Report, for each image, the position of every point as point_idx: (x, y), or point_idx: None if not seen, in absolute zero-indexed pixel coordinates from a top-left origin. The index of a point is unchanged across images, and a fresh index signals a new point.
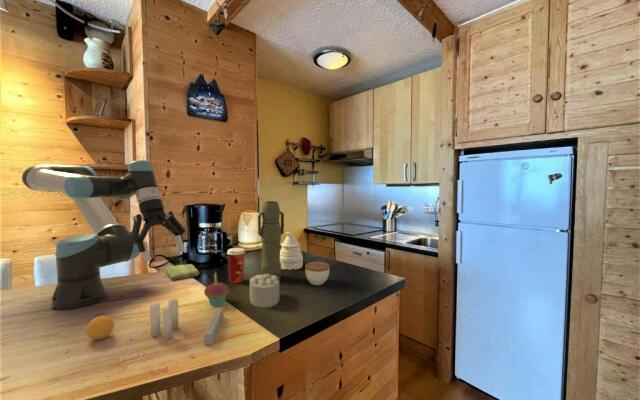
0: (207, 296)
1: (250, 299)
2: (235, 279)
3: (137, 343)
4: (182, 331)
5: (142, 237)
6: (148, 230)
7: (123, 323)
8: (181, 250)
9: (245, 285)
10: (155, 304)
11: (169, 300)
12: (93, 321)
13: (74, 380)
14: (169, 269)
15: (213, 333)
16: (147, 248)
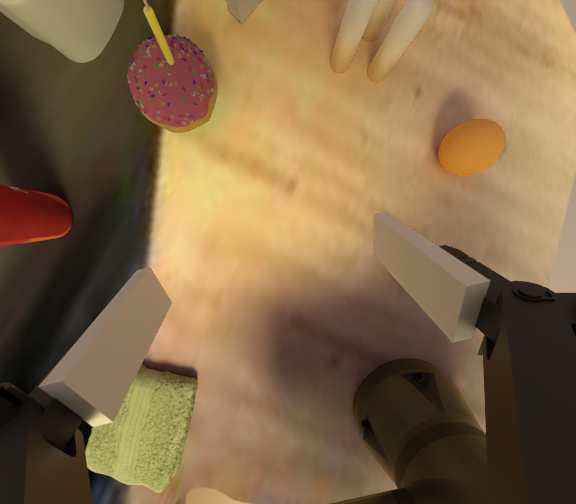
0: (216, 83)
1: (111, 21)
2: (51, 197)
3: (418, 63)
4: (335, 28)
5: (544, 322)
6: (524, 450)
7: (395, 190)
8: (153, 286)
9: (51, 154)
10: (416, 10)
11: (373, 4)
12: (504, 137)
13: (532, 24)
14: (168, 454)
15: None
16: (423, 247)
